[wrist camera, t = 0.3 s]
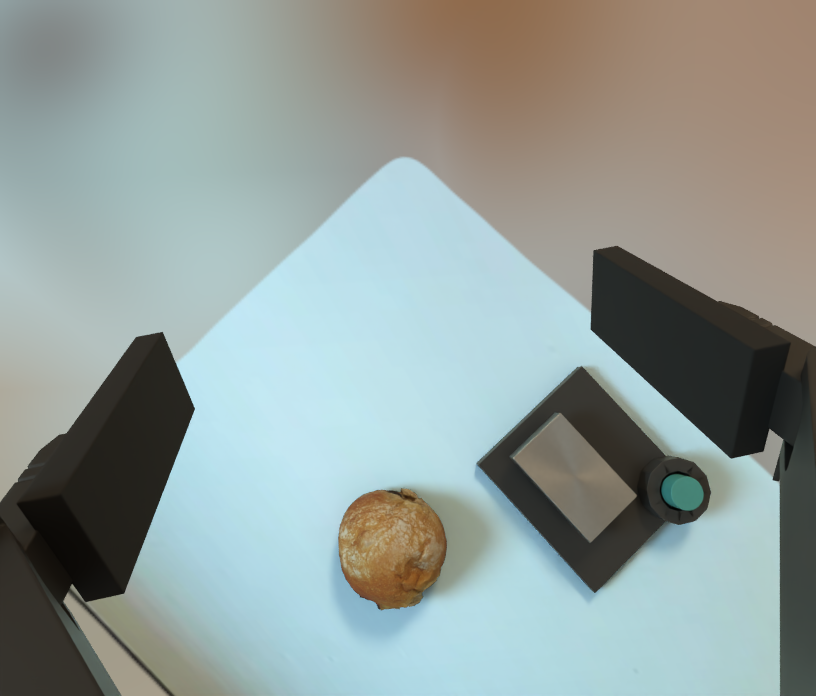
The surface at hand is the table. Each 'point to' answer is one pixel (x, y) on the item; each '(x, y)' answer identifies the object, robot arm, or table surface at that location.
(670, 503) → the tare button
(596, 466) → the silver metal plate
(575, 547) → the scale
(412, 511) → the bread roll
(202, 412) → the table surface
